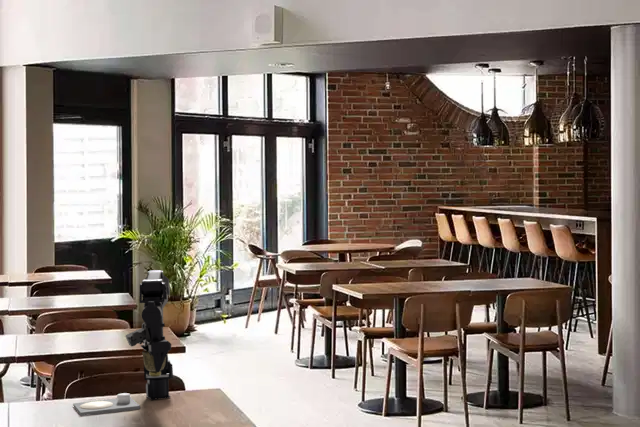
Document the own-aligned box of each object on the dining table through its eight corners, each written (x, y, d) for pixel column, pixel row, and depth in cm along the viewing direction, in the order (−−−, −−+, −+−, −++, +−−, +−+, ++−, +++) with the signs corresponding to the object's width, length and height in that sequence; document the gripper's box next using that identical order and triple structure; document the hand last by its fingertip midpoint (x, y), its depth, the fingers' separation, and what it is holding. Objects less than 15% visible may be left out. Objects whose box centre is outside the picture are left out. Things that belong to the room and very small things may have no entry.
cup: (170, 373, 301) (169, 348, 301) (163, 378, 294) (163, 352, 293) (146, 373, 302) (145, 348, 301) (140, 378, 294) (139, 352, 294)
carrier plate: (130, 400, 310) (129, 389, 310) (140, 408, 297) (139, 397, 297) (73, 406, 303) (72, 395, 302) (80, 415, 290) (80, 404, 290)
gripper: (121, 318, 302) (122, 367, 303) (134, 325, 285) (135, 378, 286) (155, 315, 307) (157, 364, 307) (171, 322, 290) (172, 374, 290)
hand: (155, 370), depth 298 cm, fingers closed on cup, 6 cm apart
